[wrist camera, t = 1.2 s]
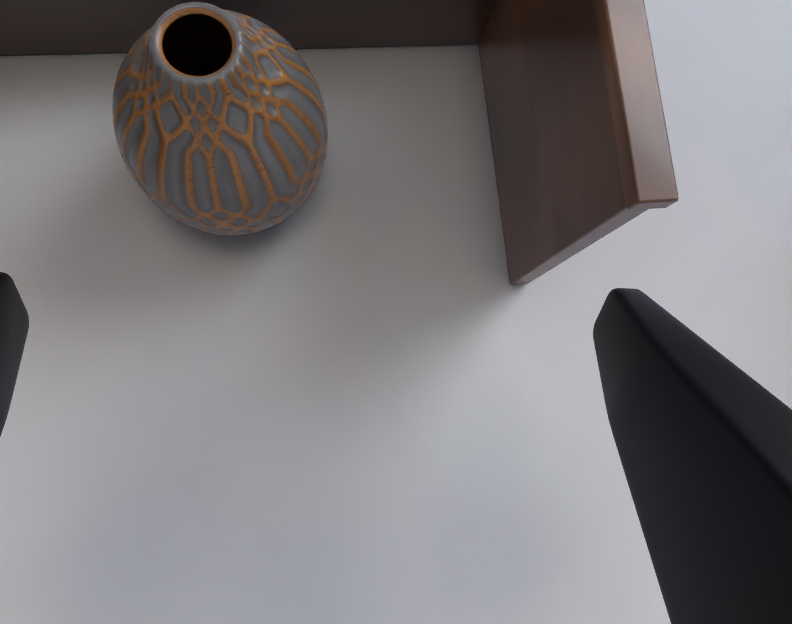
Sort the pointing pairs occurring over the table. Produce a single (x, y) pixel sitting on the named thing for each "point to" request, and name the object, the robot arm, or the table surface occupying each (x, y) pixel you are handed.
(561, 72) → the wooden bookend shelf
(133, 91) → the vase
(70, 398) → the table surface
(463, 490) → the table surface
